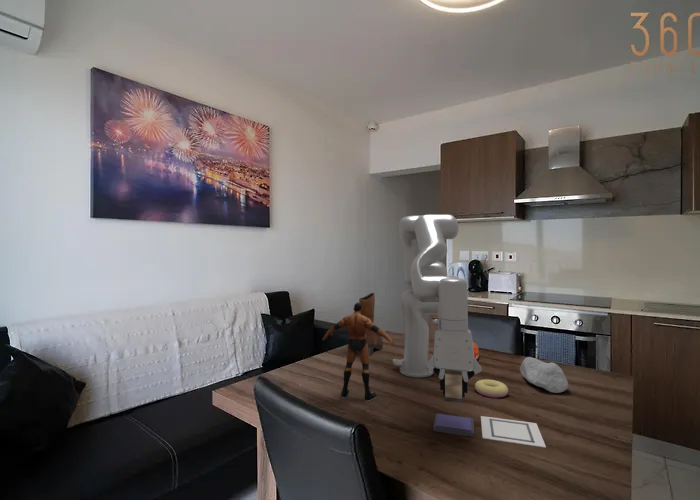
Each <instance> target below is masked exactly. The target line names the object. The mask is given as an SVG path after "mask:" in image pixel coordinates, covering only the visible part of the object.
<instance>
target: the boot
mask: <svg viewBox="0 0 700 500" xmlns="http://www.w3.org/2000/svg"><path fill="white" fill-rule="evenodd" d="M375 300H376V299H375V293H374V292H371V293H369V294H367V295H365V296H363V297H360V298H359V301H358V303H361V304H362V313H361V315H363V316H365V317H367V318H369V319H370V320H371V322H372V323H373V324H374V320H375V319H374V318H375V305H376V304H375V303H376V302H375ZM366 341H367V345H368V352H369V357H370V356H372V355H373V354H374V350H382V349H383V346H384V340H383V338H382V336H379V335H377V334H376V333H375V332H374V331H372V330H370V329H369V328H368V327H367V329H366ZM357 355H358V357H359V352H358V351H357Z"/></svg>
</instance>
